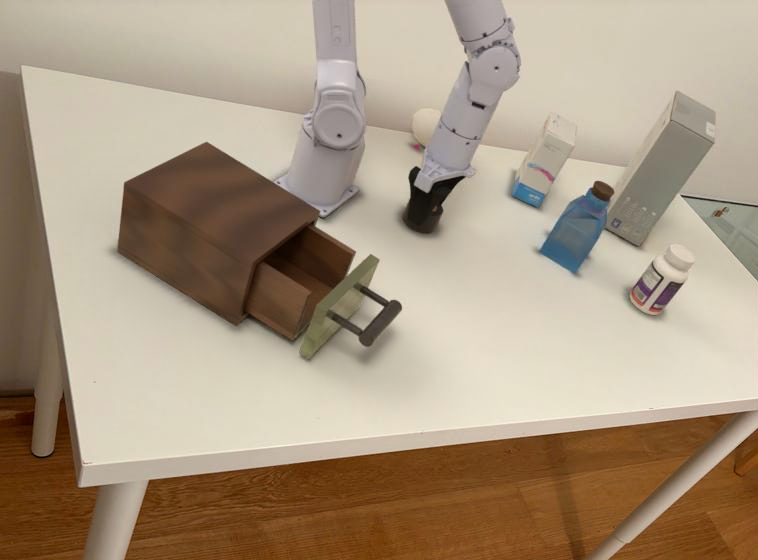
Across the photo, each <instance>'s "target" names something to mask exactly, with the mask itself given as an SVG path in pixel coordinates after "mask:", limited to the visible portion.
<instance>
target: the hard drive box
mask: <svg viewBox="0 0 758 560" xmlns="http://www.w3.org/2000/svg"><path fill="white" fill-rule="evenodd" d="M716 119H717V111H715V110H714V109H712V108H710V107H708V106H706V105H705V104H702V103H701V102H699V101H697V100H696V99H694V98H692V97H690V96H689V95H687V94H686V93H683V92H681V91H679V90H676V91H675V92H674V94H673V95H672V96H671V98H670V99H669V101H668V103H667V104H666V106H665V108H664V109H663V111H662V112H661V113H660V115H659V117H658V118H657V119H656V121H655V122H654V125H653V126H652V127H651V129H650V131H649V132H648V133H647V135H646V136H645V137H644V139H643V141H642V143H641V144H640V145H639V147H638V149H637V150H636V152H635V153H634V155H633V156H632V158H631V160H630V162H629V163H628V164H627V166H626V167H625V169H623V170H624V171H623V172H622V173H621V174H620V177H619V178H618V179H617V181H616V183H615V185H614V186H613V187H612V188H613V190H614V192H615V193H614V195H613V196H612V197H611V198H610V199H611V202H610V203H609V205H608V206H607V207H606V209H607V224H606V226H605V228H604V229H607V230H608V231H610V232H611V233H614V234H615V235H617V236H619V237H620V238H623V239H624V240H626V241H627V242H630V243H632V244H633V245H635V246H637V247H640V246H641V245H642V243H643V242H644V241H645V239H646V238H647V237H648V235H649V234H650V233H651V231H652V230H653V228H654V227H655V225H656V224H657V223H658V221H659V220H660V219H661V217H662V216H663V215H664V214H665V212H666V210H667V209H668V208H669V206H670V205H671V204H672V202H673V201H674V199H675V198H676V197H677V195H678V194H679V193H680V191H681V190H682V188H683V187H684V186H685V184H686V183H687V181H688V180H689V178H691V176H692V175H693V173H694V172H695V170H696V169H697V168H698V167H699V165H700V163H701V162H702V161H703V159H704V158H705V157H706V155H707V154H708V153H709V152H710V150H711V148H713V146H714V145H715V141H716Z"/></svg>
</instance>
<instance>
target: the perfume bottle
mask: <svg viewBox="0 0 758 560" xmlns="http://www.w3.org/2000/svg"><path fill="white" fill-rule="evenodd" d="M613 188H614V187H612V186H611V185H609V184H608V183H607V182H604V181H602V180H595V181H594V183H593V185H592V187H589V188H588V190H587V191H586V193H585V194H582V195H580V196H578V197H576V198H575V199H573V200H571V201H569V202H568V204H567V206H566V207H565V209H564V210H563V211H562V212H561V214H560V216H559V217H558V218H557V221H556V222H555V224H554V226H553V228H552V229H551V231H550V232H549V234H548V236H547V237H546V239H545V240H544V242H543V244H542V245H541V247H540V249H539V250H538V253H540V254H541V255H543V256H544V257H546V258H547V259H549V260H551V261H553V262H554V263H556V264H557V265H559V266H560V267H563V268H564V269H566V270H567V271H568V272H571V273H572V274H574V275H576V274H577V272H578V271H579V269H580V268H581V266H582V265H583V264H584V262H585V260H587V259H586V258H587V257H588V256H589V254H590V253H591V252H592V250H593V249H594V247H595V245H596V244H597V243H598V241H599V239H600V237H601V235H602V233H603V232H604V230H605V229H606V228H605V226H606V224H607V209H606V207H607V206H608V205H609V203H610V202H611V199H610V198H611V197H612V196H613V195H614V193H615V192H614V190H613Z"/></svg>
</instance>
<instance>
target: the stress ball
mask: <svg viewBox="0 0 758 560" xmlns="http://www.w3.org/2000/svg"><path fill="white" fill-rule="evenodd" d="M441 114H442V112H441V111H439V110H437V109H435V108H430V107H424V108H421V109H418V110H417V111H416V112H415V114H414V115H412V119H411V130H412V134H413V135H414V138H415V139H416V140H417V142H419V143H417V144H414V145H413V147H414V148H415V149H416V150H417V151H419V145H422V146H423V147H424V148H426V146H427V145H428V144H429V143H430V140H431V138H432V136H433V133H434V131H435V128H436V126H437V124H438V121H439V119H440V117H441Z"/></svg>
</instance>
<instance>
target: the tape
mask: <svg viewBox="0 0 758 560" xmlns="http://www.w3.org/2000/svg"><path fill="white" fill-rule="evenodd" d="M409 202H410V198H409V199H408V202H407V204H406V207H405V209H404V210H403V213H402V221H403V223H404V224H405V225H406V226H407V227H408V228H409V229H411V230H412V231H415V232H417V233H420V234H432V233H434V232H435V230H436V228H437V227H438V225H439V222H440V219H441V218H442V216H443V213H444V207H443V204H442V205H441V204H440V203H438V204H437V205H436V207H435V208H434V209H433V211H432V212H431V214H430V215H429V217H428V218H427V220H426V221H425V222H424V223H423V224H422V225H421V226H418V225H416V224H414V223H413V222H411V221H409V220H408V219H407V217H408V209H409Z"/></svg>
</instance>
